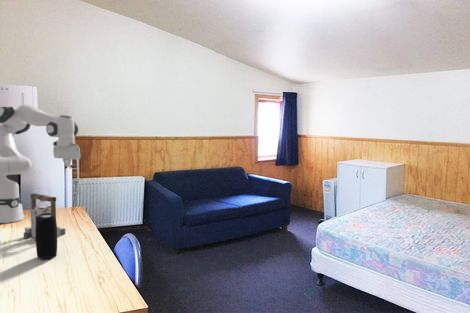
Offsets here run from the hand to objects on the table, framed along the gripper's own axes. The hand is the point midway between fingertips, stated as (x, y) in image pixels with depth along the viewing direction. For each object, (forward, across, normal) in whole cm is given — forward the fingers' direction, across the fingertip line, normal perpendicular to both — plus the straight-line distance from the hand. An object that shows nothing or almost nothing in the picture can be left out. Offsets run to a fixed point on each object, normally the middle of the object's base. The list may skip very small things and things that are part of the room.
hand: (67, 166), depth 214 cm
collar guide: (+35, -11, +22) cm, 43 cm away
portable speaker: (+36, -39, +40) cm, 66 cm away
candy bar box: (+35, -11, +23) cm, 43 cm away
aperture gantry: (+35, -11, +23) cm, 43 cm away
